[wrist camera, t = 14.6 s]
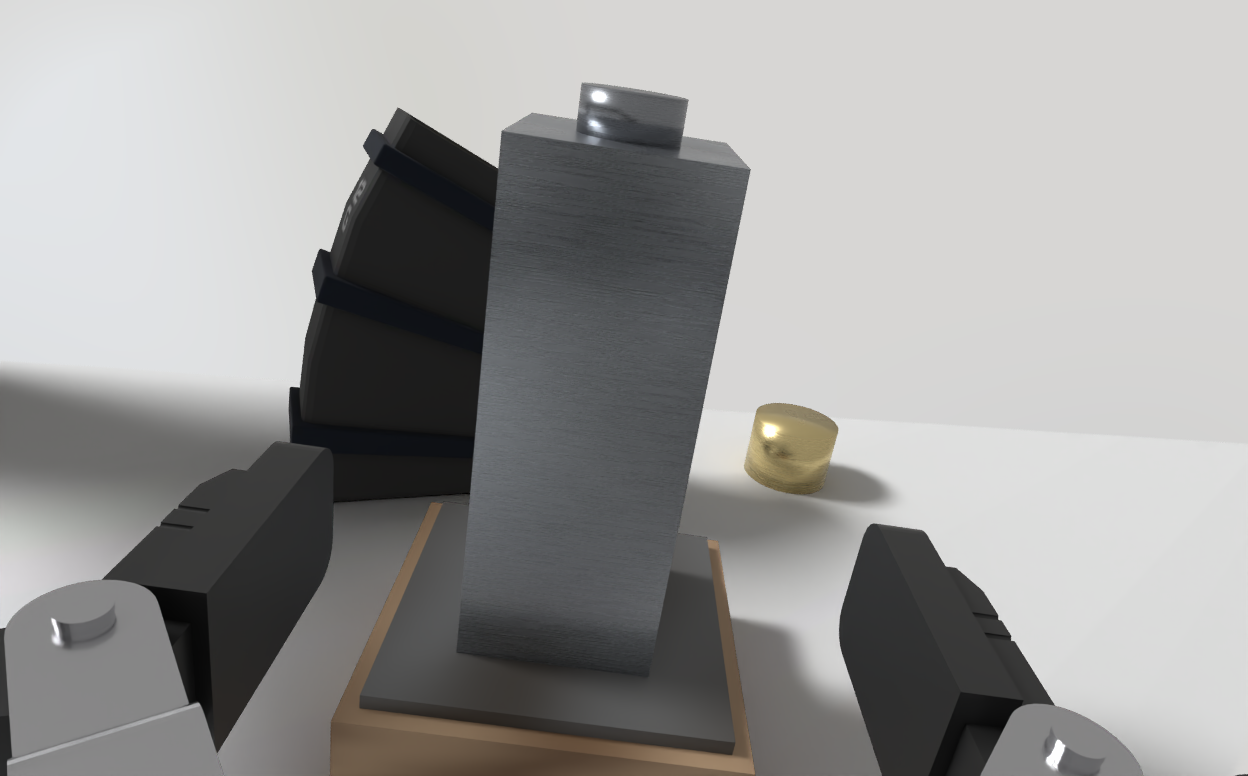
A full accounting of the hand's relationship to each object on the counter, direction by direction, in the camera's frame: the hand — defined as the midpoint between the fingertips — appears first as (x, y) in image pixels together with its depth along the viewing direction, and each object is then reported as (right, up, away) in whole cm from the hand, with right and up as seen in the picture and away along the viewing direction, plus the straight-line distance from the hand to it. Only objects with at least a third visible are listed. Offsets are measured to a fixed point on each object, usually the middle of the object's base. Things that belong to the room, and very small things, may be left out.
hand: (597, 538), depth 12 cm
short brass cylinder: (+8, -2, +29) cm, 30 cm away
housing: (-1, -4, +11) cm, 12 cm away
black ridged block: (-7, -2, +24) cm, 25 cm away
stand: (-2, -7, +13) cm, 15 cm away
